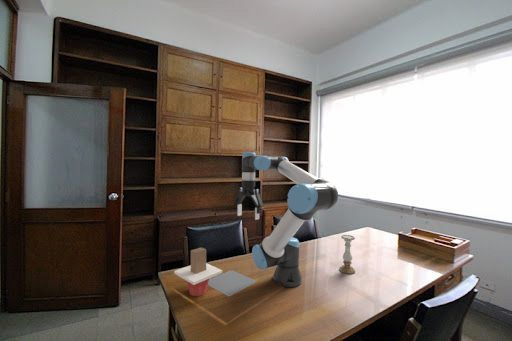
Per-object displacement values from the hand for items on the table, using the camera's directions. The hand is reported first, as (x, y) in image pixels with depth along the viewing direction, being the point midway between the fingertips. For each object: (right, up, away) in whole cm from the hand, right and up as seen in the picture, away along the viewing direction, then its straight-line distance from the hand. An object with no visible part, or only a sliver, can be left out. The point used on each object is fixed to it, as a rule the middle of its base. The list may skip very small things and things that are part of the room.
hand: (248, 217), depth 139 cm
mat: (-9, -32, -12) cm, 35 cm away
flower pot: (-23, -32, -22) cm, 45 cm away
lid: (-23, -22, -22) cm, 39 cm away
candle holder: (+58, -33, +6) cm, 67 cm away
